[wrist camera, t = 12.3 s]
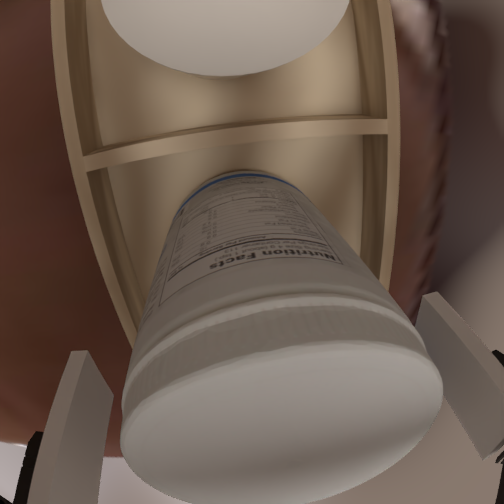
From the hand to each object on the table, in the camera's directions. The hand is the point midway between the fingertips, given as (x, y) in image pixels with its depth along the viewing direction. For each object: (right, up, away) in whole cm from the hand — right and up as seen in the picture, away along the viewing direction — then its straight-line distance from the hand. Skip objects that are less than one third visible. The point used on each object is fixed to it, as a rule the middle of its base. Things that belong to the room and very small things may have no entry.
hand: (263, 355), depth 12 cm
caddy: (-1, +11, +6) cm, 13 cm away
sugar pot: (-2, +17, +2) cm, 17 cm away
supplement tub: (-1, +5, +9) cm, 10 cm away
